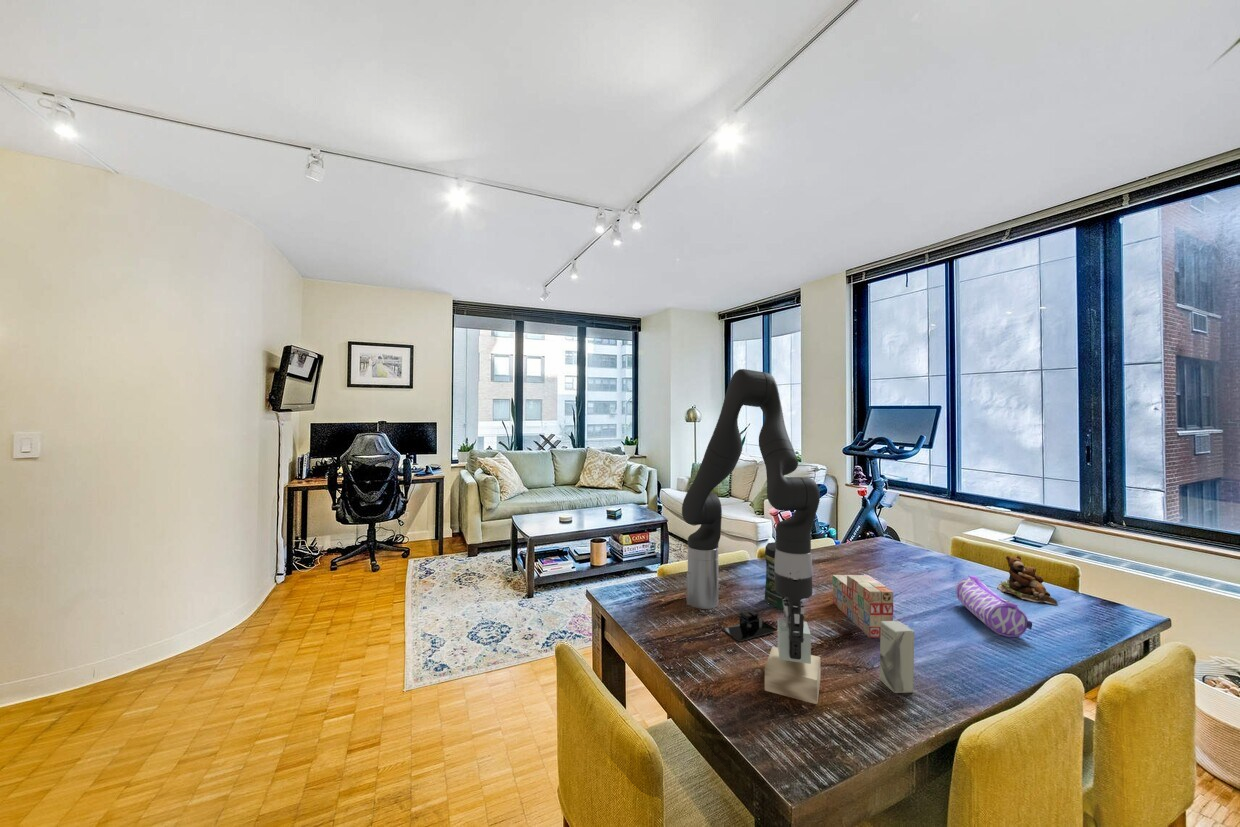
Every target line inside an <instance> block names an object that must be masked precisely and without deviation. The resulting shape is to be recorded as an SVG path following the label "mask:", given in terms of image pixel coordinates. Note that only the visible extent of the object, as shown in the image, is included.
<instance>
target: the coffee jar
mask: <svg viewBox="0 0 1240 827" xmlns="http://www.w3.org/2000/svg"><path fill="white" fill-rule="evenodd" d="M775 552H776V541H774V542H768V543H767V544H765V549H764V559H765V565H766V566H765V568H766V570H765V573H766V574H765V587H764V588H765V589H764V602H765V603H766V604H768V603H769V604H768V605H770V606H771V605H772V607H774V608H775V609H778V610H780V611H784V608H783V599H784V596H781V595H779V594H778V593H777V592H776V591H775Z"/></svg>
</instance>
